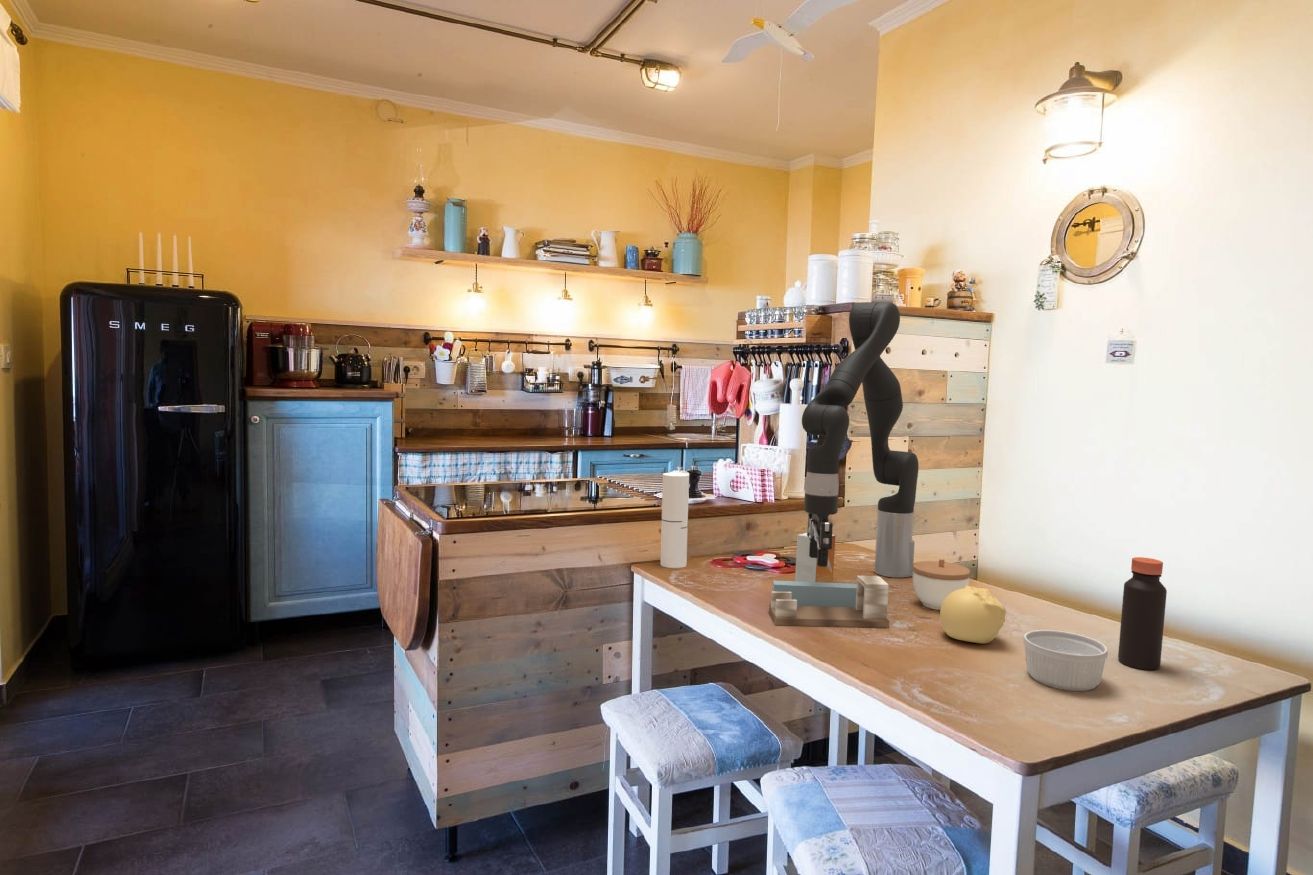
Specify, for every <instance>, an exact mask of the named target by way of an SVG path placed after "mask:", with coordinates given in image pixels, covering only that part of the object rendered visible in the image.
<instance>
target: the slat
mask: <svg viewBox="0 0 1313 875" xmlns="http://www.w3.org/2000/svg"><path fill="white" fill-rule="evenodd" d="M856 590H857V583H844V582H843V583H842V582H841V583H840V582H833V583H823V582H799V581H795V580H774V579H773V580H772V591H781V592H791V593H792V600H797V606H825V607H856ZM772 591H771V592H772Z"/></svg>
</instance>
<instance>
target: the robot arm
mask: <svg viewBox="0 0 1313 875" xmlns="http://www.w3.org/2000/svg"><path fill="white" fill-rule="evenodd" d="M848 315H849V316H848V326H849V332H850V336H851V340H852V345H853V348H854V351H852V352H851V353H850V354H848V355H846V357H844V358H843V359H842V360H841V361H840V362H838V364H837V365H836V366H835V368H834V369H833V371H832V373H831V375H830V377H829V379H828V381H827V383H826V385H825V386H824V387H823V388H822V389H821V391H819V392H818V393H817V394H816V396H814V398H813V399H812V400H810V401H809V403H808V404H807V405H806V406H805V408H804V410H803V412H802V416H801V425H802V428H803V430H804V431H805V432H806V433H807V434H809V435H813V436H823V437H824V436H825V440H824V442H823V443H822V445H821V444H820V445H815V446H811V447H810V448H809V449H808V452H807V466H806V477H805V482H804V483H805V485H804V500H803V511H804V512H805V513H807V515H808V519H807V520H808V521H807V532H806V533H807V536H808V537H809V538H808V539H809V541H811V542H810V546H809V556H810V557H811V558H817V565H818V566H819V567H826V566H827V565H828V550H829V549H832V534H833V527H834V524H833V522H831V521H829V516H830V515H831V516H833V515H836V514H837V513H838V510H839V509H838V507H839V487H840V486H839V485H840V481H839V480H840V479H839V469H840V467H839V466H840V456H841V455H840V454H841V452H842V448H843V444H844V441H845V439H846V435H847V433H848V430H849V425H850V416H849V413H848V411H847V409H846V408H845V407H848V406H849V405H851V403H852V402H853V400H854V399H855V397H856V395H857V393H858V391H859V389H860V387H861V386H862V392H863V399H864V400H863V401H864V406H865V410H866V415H867V420H868V428H869V433H870V434H869V435H870V442H871V443H870V444H871V459H872V471H873V476H874V478H875V479H876V481H877V483H880V484H883V485H888V486H890V485H891V486H896V487H898V490H897V492H896V493H895V494H893V495H889V496H888V495H887V496H885V497H884V496H883V497H881V498H879V500H878V502H877V516H876V519H877V520H876V537H875V552H874V554H875V555H874V573H876V574H877V575H878V576H884V577H887V578H888V577H889V578H907V577H913V564H914V558H915V540H913V532H914V531H913V530H914V529H913V528H914V511H915V504H916V496H917V488H918V485H917V484H918V476H919V464H920V463H919V459H918V456H917V455H916V454H915V453H914V452H909V451H901V450H900V451H899V450H891V449H890V447H889V437H890V434H891V432H892V430H893V429H894V427H895V425H896V423H897V422H898V420H899V418H900V417H901V415H902V412H903V408H904V407H903V406H904V402H903V395H902V388H901V384H900V381H899V380H898V378H897V376H896V374H894V372H893V371H892V369H891V368H890V367H889V365H888V364H886V362H885V361H884V360H883V359H882V357H881V355H882V354H883V352H884V351H885V350H886V348H887V347H888V346H889V344H890V343H891V341H893V339H894V337H895V336H896V334H897V332H898V331H899V327H900V322H901V315H900V310H899V307H898V306H897V304H895V303H893V302H889V301H871V302H870V301H863V302H857V303H854V304H853V305H852V306H851V308H850V310H849V313H848ZM823 541H825V542H826V544H823Z"/></svg>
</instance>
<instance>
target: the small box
mask: <svg viewBox="0 0 1313 875" xmlns="http://www.w3.org/2000/svg"><path fill="white" fill-rule="evenodd" d="M808 538H809V537H808V536H807V532H804V533H799V534H797V535H796V552H795V553H796V556H795V574H794V575H795V576H794V581H799V582H823V583H834V571H835V570H834V568H835V551H836V534H833V533H832V549H829V550H828V565H827V566H826V567H819V566H818V565H817V558H811V557H810V556H809V546H810V542H811V541H809V539H808ZM823 544H826V542H825V541H823Z"/></svg>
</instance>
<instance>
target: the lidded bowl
mask: <svg viewBox="0 0 1313 875" xmlns="http://www.w3.org/2000/svg"><path fill="white" fill-rule="evenodd" d="M970 577H971V570H970V569H969V568H968V567H966V566H963V565H960V564H957V563H952V562H947V561H945V559H943V558H939V559H938V560H937V561H936V560H921V561H918V562H915V563H914V562H913V576H912V586H913V590H914V592H915V595H916V596H917V598H918V599H919V601H921V603H922V605H923V606H924V607H926V608H928V609H933V610H937V611H940V609H941V605H942V603H943V601H944V599H945V598H946V597H947V596H948V595H949V594H950V593H951V592H953V591H955V590H958V589H963V588H965V586H966V585H967V586H970Z"/></svg>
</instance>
